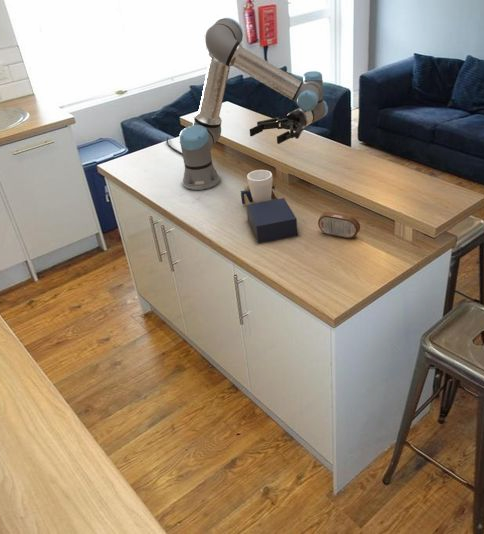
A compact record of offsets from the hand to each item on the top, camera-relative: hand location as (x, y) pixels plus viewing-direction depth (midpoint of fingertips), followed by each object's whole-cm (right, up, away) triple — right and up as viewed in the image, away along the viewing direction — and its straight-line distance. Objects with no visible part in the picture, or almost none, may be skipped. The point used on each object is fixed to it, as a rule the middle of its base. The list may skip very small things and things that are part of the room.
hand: (263, 136), depth 210 cm
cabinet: (+3, -35, -4) cm, 35 cm away
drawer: (-1, -25, +9) cm, 26 cm away
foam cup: (-1, -25, +7) cm, 26 cm away
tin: (+27, -38, -10) cm, 48 cm away
